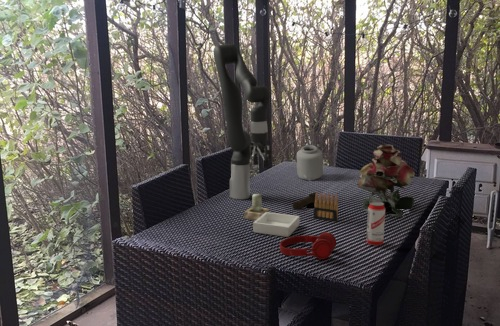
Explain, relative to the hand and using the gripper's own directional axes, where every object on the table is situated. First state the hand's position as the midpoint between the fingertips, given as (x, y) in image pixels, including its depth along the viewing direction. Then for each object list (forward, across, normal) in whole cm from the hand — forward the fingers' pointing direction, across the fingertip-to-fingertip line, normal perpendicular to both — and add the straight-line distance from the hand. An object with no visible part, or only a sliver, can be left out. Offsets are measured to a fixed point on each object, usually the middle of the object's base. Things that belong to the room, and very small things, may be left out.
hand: (260, 166), depth 226 cm
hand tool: (+22, +4, +22) cm, 31 cm away
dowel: (+20, +8, -8) cm, 23 cm away
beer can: (+23, +58, +13) cm, 64 cm away
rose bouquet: (+23, +26, +51) cm, 62 cm away
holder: (+20, +8, -8) cm, 23 cm away
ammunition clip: (+22, +26, +16) cm, 38 cm away
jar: (+22, -35, +54) cm, 68 cm away
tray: (+21, +25, -9) cm, 34 cm away
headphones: (+22, +51, -13) cm, 57 cm away
